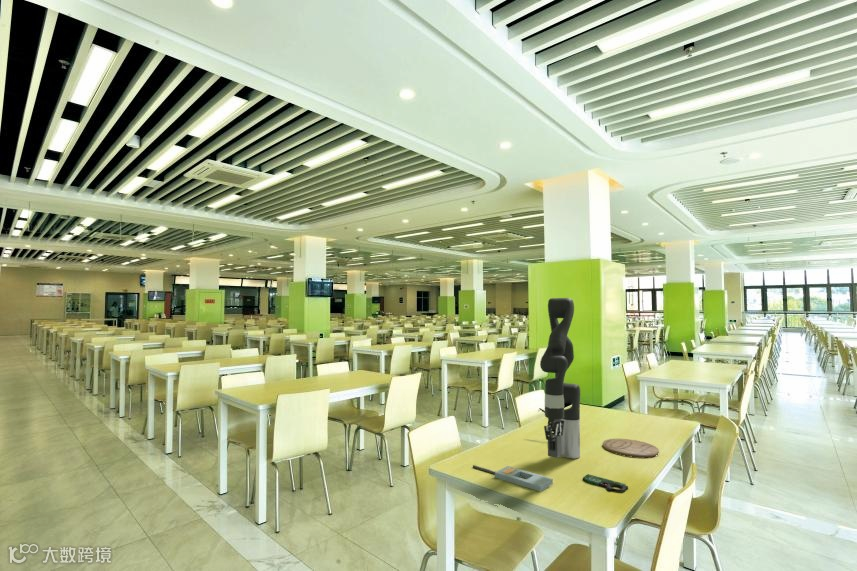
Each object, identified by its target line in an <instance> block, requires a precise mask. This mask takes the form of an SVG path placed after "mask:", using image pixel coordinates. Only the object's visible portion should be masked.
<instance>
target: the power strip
mask: <svg viewBox="0 0 857 571" xmlns="http://www.w3.org/2000/svg"><path fill="white" fill-rule="evenodd" d="M472 468H474V469H477V470H479V471H483V472H487V473H489V474H493V475H494V478H495V479H499V480H501V481H505V482H508V483H512V484H514V485H517V486H521V487H523V488H527V489H531V490H533V491H537V492H540V493H541V492H543V491H544V490H545V489H547V488H549V487H550V486H552V485H553V482H554V480H553V478H552V477H548V476H545V475H542V474H537V473H534V472H531V471H528V470H523V469H520V468H517V467H513V466H509V465H507V466H504V467H503V468H501V469H498V470H497V471H494V470H491V469H488V468H485V467H481V466H477V465H476V464H473V465H472Z"/></svg>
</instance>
